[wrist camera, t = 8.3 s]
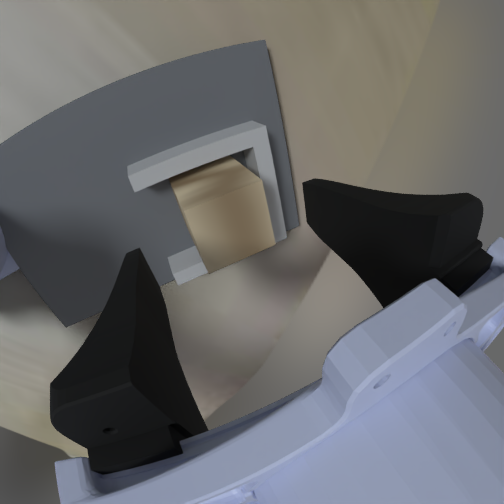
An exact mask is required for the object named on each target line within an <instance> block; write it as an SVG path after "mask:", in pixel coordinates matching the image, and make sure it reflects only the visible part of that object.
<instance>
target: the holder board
mask: <svg viewBox="0 0 504 504" xmlns="http://www.w3.org/2000/svg"><path fill="white" fill-rule="evenodd" d="M228 155H230V156H231V157H233V158H234V159H235V160H237V161H238V162H239V163H241V164H242V165H243V166H245V167H246V168H247V169H248V170H250V171H251V172H252V173H254V174H255V175H256V176H257V177H259V178H260V179H261V180H262V182H263V187H264V191H265V196H266V200H267V205H268V210H269V215H270V219H271V224H272V229H273V234H274V238H275V243H276V242H279V241H281V240H283V239H286V238H287V235H286V231H288V230H291V229H293V228H295V227H298V226H299V222H298V215H297V208H296V202H295V195H294V189H293V182H292V176H291V170H290V164H289V158H288V152H287V146H286V141H285V135H284V130H283V124H282V119H281V113H280V108H279V103H278V98H277V93H276V88H275V83H274V78H273V73H272V69H271V64H270V59H269V55H268V50H267V46H266V41H265V40H260V41H254V42H249V43H243V44H238V45H233V46H229V47H224V48H220V49H215V50H211V51H207V52H203V53H199V54H195V55H192V56H188V57H185V58H181V59H178V60H175V61H171V62H168V63H165V64H162V65H159V66H156V67H153V68H150V69H147V70H144V71H142V72H139V73H136V74H134V75H131V76H128V77H126V78H123V79H121V80H118V81H116V82H113V83H111V84H109V85H106V86H104V87H102V88H99V89H97V90H95V91H93V92H91V93H89V94H86V95H84V96H82V97H80V98H78V99H76V100H74V101H72V102H70V103H68V104H66V105H64V106H62V107H60V108H59V109H57V110H55V111H53V112H51V113H49V114H48V115H46V116H44V117H42V118H41V119H39V120H37V121H36V122H34V123H32V124H31V125H29V126H27V127H26V128H24V129H22V130H21V131H19V132H18V133H16V134H15V135H13V136H12V137H10V138H9V139H7V140H6V141H4V142H3V143H1V144H0V227H1V229H2V232H3V235H4V238H5V245H6V249H7V250H8V252H9V253H10V255H11V256H12V258H13V259H14V261H15V262H16V264H17V265H18V267H19V268H20V270H21V271H22V272H23V274H24V275H25V277H26V278H27V279H28V281H29V282H30V283H31V285H32V286H33V288H34V289H35V290H36V291H37V293H38V294H39V295H40V297H41V298H42V299H43V301H44V302H45V303H46V304H47V306H48V307H49V308H50V309H51V310H52V312H53V313H54V314H55V315H56V316H57V318H58V319H59V320H60V321H61V322H62V324H63V325H64V326H65V327H68V326H70V325H72V324H75V323H77V322H79V321H82V320H84V319H86V318H88V317H91V316H93V315H95V314H97V313H100V312H102V311H103V310H104V308H105V305H106V303H107V301H108V299H109V296H110V294H111V292H112V289H113V287H114V284H115V282H116V279H117V276H118V274H119V271H120V268H121V265H122V262H123V260H124V257H125V255H126V253H128V252H130V251H133V250H135V249H137V248H139V247H140V249H141V251H142V253H143V255H144V257H145V259H146V261H147V263H148V265H149V267H150V269H151V271H152V273H153V274H154V276H155V278H156V280H157V282H158V284H159V286H161V285H164V284H166V283H168V282H170V281H173V280H176V282H177V284H178V285H180V284H182V283H185V282H187V281H189V280H192V279H194V278H196V277H199V276H201V275H203V274H205V273H208V271H207V269H206V267H205V265H204V263H203V261H202V259H201V257H200V255H199V252H198V250H197V248H196V246H195V244H194V242H193V240H192V237H191V235H190V233H189V231H188V228H187V226H186V223H185V221H184V218H183V216H182V213H181V211H180V208H179V205H178V203H177V200H176V198H175V195H174V192H173V190H172V187H171V184H170V182H169V179H168V178H170V177H172V176H175V175H177V174H180V173H182V172H185V171H188V170H190V169H193V168H195V167H198V166H201V165H203V164H206V163H209V162H211V161H214V160H217V159H220V158H222V157H225V156H228Z"/></svg>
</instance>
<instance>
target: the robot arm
mask: <svg viewBox="0 0 504 504" xmlns="http://www.w3.org/2000/svg"><path fill="white" fill-rule="evenodd" d="M302 184H303V193H304V201H305V209H306V218H307V223H308V224H309V226H310V227H311V228H312V229H313V231H314V232H315V233H316V234H317V235H318V237H319V238H320V239H321V240H322V241H323V242H324V243H325V244H327V245H328V246H329V247H330V248H331V249H332V250H333V251H334V252H335V253H336V254H337V255H338V256H340V257H341V258H342V259H343V260H344V261H345V262H346V263H347V264H348V265H349V266H350V267H352V269H353V270H354V271H355V272H356V273H357V274H358V275H359V276H360V278H361V279H362V280H363V281H364V282H365V284H366V285H367V286H368V287H369V288H370V290H371V291H372V293H373V294H374V295H375V297H376V298H377V299H378V301H379V302H380V303H381V305H382V306H383V309H382V310H380V311H379V312H377V313H375V314H374V315H372V316H370V317H369V318H367V319H366V320H364V321H362V322H361V323H359V324H357V325H356V326H354V328H352V329H351V330H349V331H348V332H347V333H345V334H344V335H343V336H341V337H340V338H339V339H338V341H337V342H336V343H335V344H334V345H333V347H332V348H331V349H330V350H329V351H328V353H327V356H326V359H325V362H324V364H323V368H322V378H320V379H319V380H317V381H315V382H313V383H311V384H309V385H307V386H306V387H304V388H302V389H300V390H298V391H296V392H294V393H292V394H290V395H288V396H286V397H284V398H282V399H280V400H278V401H276V402H274V403H272V404H270V405H267V406H266V407H263V408H261V409H259V410H257V411H255V412H252V413H250V414H248V415H245V416H243V417H241V418H239V419H236V420H234V421H231V422H229V423H227V424H224V425H222V426H219V427H217V428H214V429H211V430H208V429H207V426H206V424H205V422H204V420H203V418H202V416H201V414H200V411H199V409H198V407H197V405H196V402H195V400H194V398H193V396H192V393H191V391H190V388H189V386H188V383H187V381H186V378H185V376H184V373H183V371H182V368H181V365H180V363H179V360H178V357H177V353H176V350H175V346H174V341H173V337H172V332H171V328H170V323H169V318H168V314H167V309H166V304H165V301H164V298H163V295H162V292H161V289H160V286H159V284H158V282H157V280H156V278H155V276H154V274H153V273H152V271H151V269H150V267H149V265H148V263H147V261H146V259H145V257H144V255H143V253H142V251H141V249H140V247H139V248H137V249H135V250H133V251H130V252H128V253H126V255H125V257H124V260H123V262H122V265H121V268H120V271H119V274H118V276H117V279H116V282H115V284H114V287H113V289H112V292H111V294H110V296H109V299H108V301H107V303H106V305H105V308H104V310H103V312H102V314H101V315H100V317H99V319H98V321H97V323H96V324H95V326H94V328H93V329H92V331H91V332H90V334H89V336H88V337H87V339H86V340H85V342H84V343H83V345H82V346H81V348H80V349H79V350H78V352H77V353H76V354H75V356H74V357H73V358H72V360H71V361H70V362H69V363H68V364H67V366H66V367H65V368H64V369H63V370H62V371H61V372H60V374H59V375H58V376H57V377H56V378H55V379H54V380H53V381H52V382H51V383H50V418H51V423H52V425H53V426H54V427H55V429H56V430H57V431H59V432H60V433H61V434H63V435H64V436H66V437H67V438H69V439H71V440H72V441H74V442H76V443H78V444H79V445H81V446H83V447H85V448H87V449H88V456H89V458H87V457H76V458H71V459H66V460H61V461H57V462H55V470H56V477H57V484H58V490H59V496H60V502H61V504H504V373H503V372H502V371H501V370H500V369H499V368H498V367H497V366H496V365H495V364H494V363H493V362H492V361H491V359H490V358H489V357H488V356H487V355H486V354H484V351H485V350H486V348H487V347H488V346H489V345H490V344H491V342H492V341H493V340H494V339H495V337H496V336H497V335H498V334H499V332H500V331H501V330H502V329H503V327H504V239H503V238H502V237H499V238H498V239H497V240H496V241H494V242H493V243H492V244H491V245H490V246H489V247H488V249H487V251H484V250H483V249H482V248H481V247H482V242H481V241H479V240H478V239H477V237H478V233H479V230H480V226H481V221H482V217H483V205H482V202H481V200H480V199H478V198H477V197H475V196H473V195H471V194H469V193H459V194H447V195H413V194H400V193H392V192H384V191H378V190H372V189H366V188H362V187H357V186H353V185H348V184H343V183H339V182H334V181H329V180H323V179H312V180H309V181H306V182H303V183H302ZM18 269H20V268H19V267H18V265H17V264H16V262H15V261H14V259H13V258H12V256H11V255H10V253H9V252H8V250H7V249H6V245H5V238H4V235H3V232H2V229H1V227H0V280H1V279H3V278H4V277H6V276H8V275H9V274H11V273H13V272H15V271H16V270H18Z"/></svg>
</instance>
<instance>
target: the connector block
mask: <svg viewBox="0 0 504 504" xmlns="http://www.w3.org/2000/svg"><path fill="white" fill-rule="evenodd" d="M168 179H169V182H170V184H171V187H172V190H173V192H174V195H175V198H176V200H177V203H178V205H179V208H180V211H181V213H182V216H183V218H184V221H185V223H186V226H187V228H188V231H189V233H190V235H191V237H192V240H193V242H194V244H195V246H196V248H197V250H198V252H199V255H200V257H201V259H202V261H203V263H204V265H205V267H206V269H207V271H208V273H209V274H210V273H212V272H215V271H217V270H219V269H222V268H224V267H226V266H228V265H231V264H233V263H235V262H237V261H240V260H242V259H244V258H247V257H249V256H251V255H253V254H256V253H258V252H260V251H262V250H265V249H267V248H269V247H272V246H274V245H276V243H275V238H274V234H273V229H272V224H271V219H270V215H269V210H268V205H267V200H266V196H265V191H264V187H263V182H262V180H261V179H260V178H259V177H257V176H256V175H255V174H254V173H252V172H251V171H250V170H248V169H247V168H246V167H245V166H243V165H242V164H241V163H239V162H238V161H237V160H235V159H234V158H233V157H231V156H230V155H228V156H225V157H222V158H220V159H217V160H214V161H211V162H209V163H206V164H203V165H201V166H198V167H195V168H193V169H190V170H188V171H185V172H182V173H180V174H177V175H175V176H172V177H170V178H168Z"/></svg>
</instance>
